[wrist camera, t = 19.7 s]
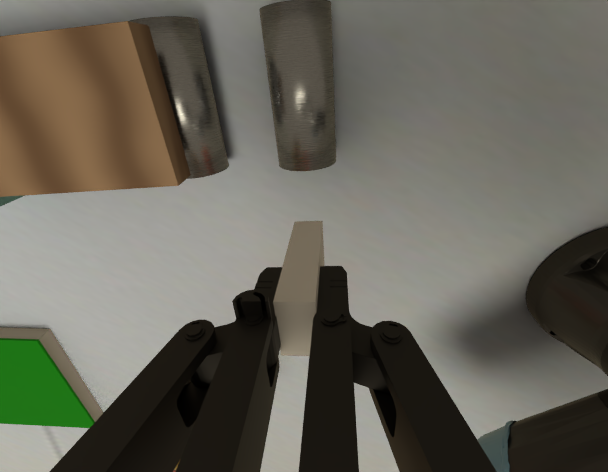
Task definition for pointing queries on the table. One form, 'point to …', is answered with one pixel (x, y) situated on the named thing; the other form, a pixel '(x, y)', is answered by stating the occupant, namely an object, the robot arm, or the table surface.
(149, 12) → the table surface
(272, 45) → the cylinder
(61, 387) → the book
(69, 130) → the slab
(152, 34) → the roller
